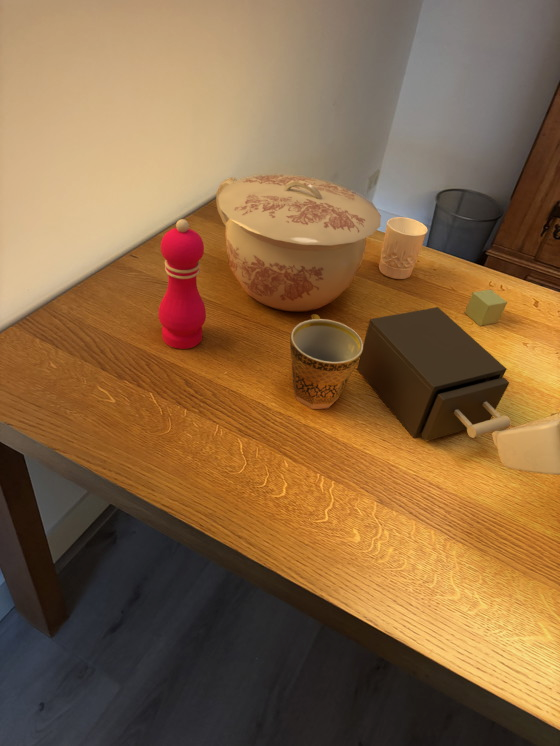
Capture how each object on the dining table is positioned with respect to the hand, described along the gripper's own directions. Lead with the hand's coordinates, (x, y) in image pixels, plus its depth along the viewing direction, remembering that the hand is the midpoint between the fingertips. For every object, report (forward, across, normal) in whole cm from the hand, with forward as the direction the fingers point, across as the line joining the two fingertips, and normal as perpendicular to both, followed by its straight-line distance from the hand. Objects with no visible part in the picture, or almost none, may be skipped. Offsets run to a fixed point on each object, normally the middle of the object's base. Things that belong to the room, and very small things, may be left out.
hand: (527, 428), depth 65 cm
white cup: (+43, -18, -29) cm, 55 cm away
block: (+30, -25, -16) cm, 42 cm away
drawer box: (+20, 0, -6) cm, 20 cm away
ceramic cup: (+24, +15, -10) cm, 30 cm away
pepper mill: (+36, +30, -22) cm, 52 cm away
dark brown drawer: (+16, 0, -3) cm, 16 cm away
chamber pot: (+42, +7, -28) cm, 51 cm away
